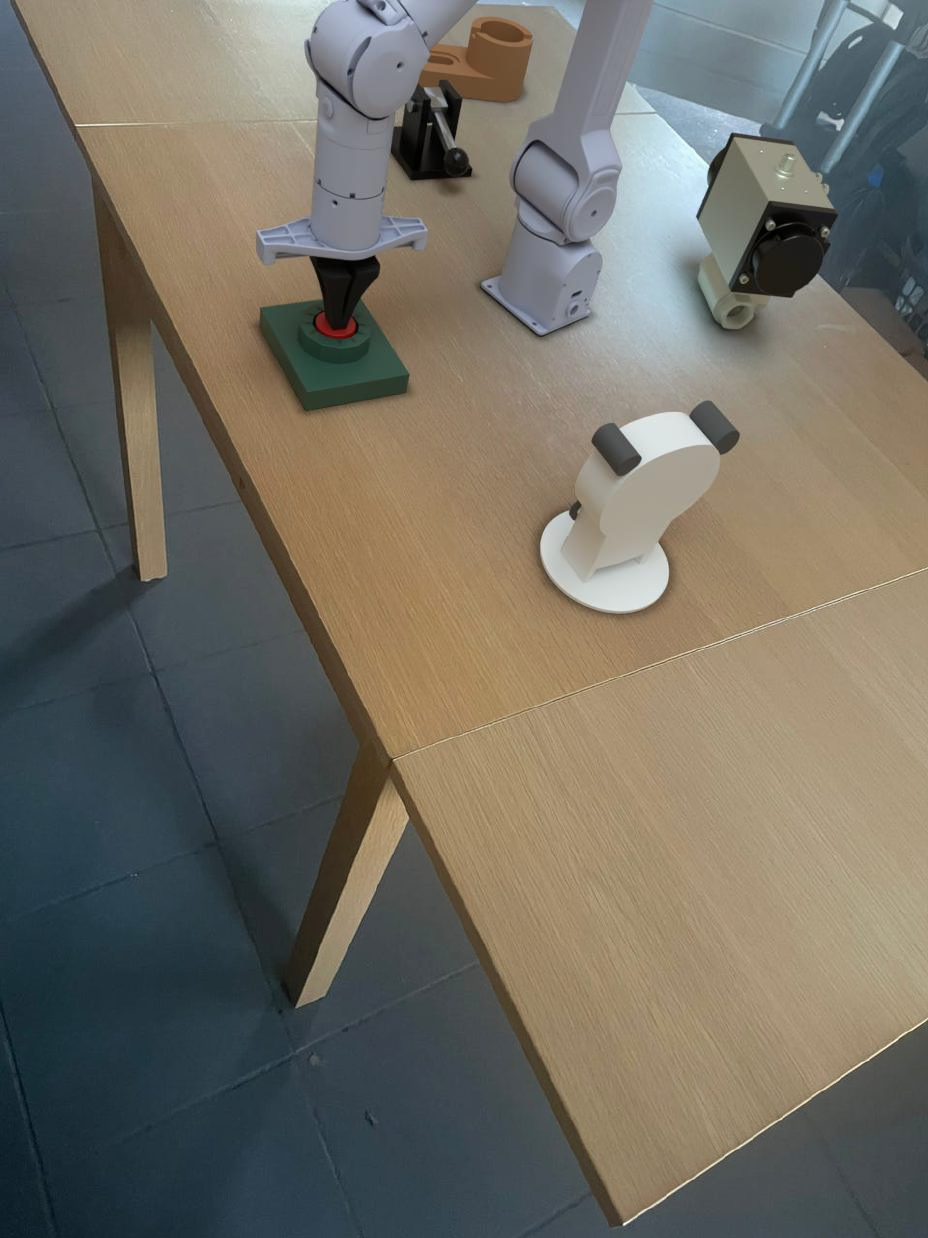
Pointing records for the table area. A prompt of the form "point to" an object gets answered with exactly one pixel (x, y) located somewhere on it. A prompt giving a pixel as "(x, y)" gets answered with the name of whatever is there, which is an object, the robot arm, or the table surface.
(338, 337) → the button
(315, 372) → the button box
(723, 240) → the ball valve
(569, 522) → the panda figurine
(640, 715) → the table surface
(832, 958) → the table surface
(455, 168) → the lever
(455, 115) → the bracket
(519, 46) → the bracket
